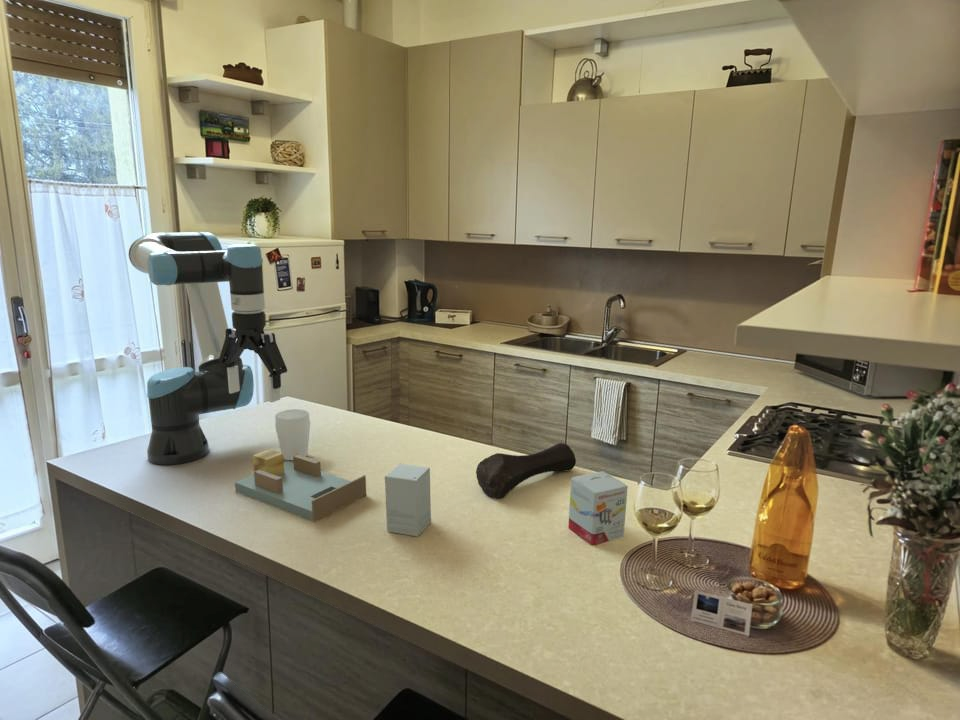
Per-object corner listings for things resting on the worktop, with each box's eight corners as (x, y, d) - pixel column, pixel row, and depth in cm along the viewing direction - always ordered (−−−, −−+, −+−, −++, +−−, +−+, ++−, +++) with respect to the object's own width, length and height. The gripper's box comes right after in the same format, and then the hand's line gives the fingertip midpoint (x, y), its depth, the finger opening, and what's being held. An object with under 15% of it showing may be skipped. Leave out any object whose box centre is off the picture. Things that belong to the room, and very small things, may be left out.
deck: (235, 491, 149) (233, 468, 148) (289, 469, 162) (287, 448, 161) (314, 522, 135) (312, 497, 134) (366, 495, 148) (365, 472, 147)
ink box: (592, 546, 126) (594, 492, 123) (567, 528, 133) (569, 476, 131) (625, 537, 130) (629, 484, 127) (599, 519, 137) (602, 469, 134)
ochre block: (254, 474, 153) (252, 455, 152) (271, 467, 157) (269, 449, 156) (267, 479, 151) (266, 459, 149) (284, 472, 155) (283, 453, 154)
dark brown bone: (488, 510, 146) (567, 490, 164) (507, 479, 141) (587, 462, 159) (464, 476, 152) (543, 460, 171) (481, 445, 147) (561, 432, 165)
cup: (302, 463, 166) (299, 420, 163) (271, 461, 168) (268, 418, 165) (317, 451, 175) (315, 410, 172) (287, 449, 176) (285, 408, 174)
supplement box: (432, 521, 136) (431, 467, 133) (417, 538, 129) (416, 480, 126) (401, 516, 138) (399, 462, 135) (385, 531, 131) (383, 475, 128)
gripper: (198, 307, 151) (206, 392, 156) (275, 318, 140) (281, 409, 145) (223, 303, 158) (230, 384, 163) (299, 313, 147) (303, 400, 152)
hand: (254, 396), depth 154 cm, fingers open, 13 cm apart
